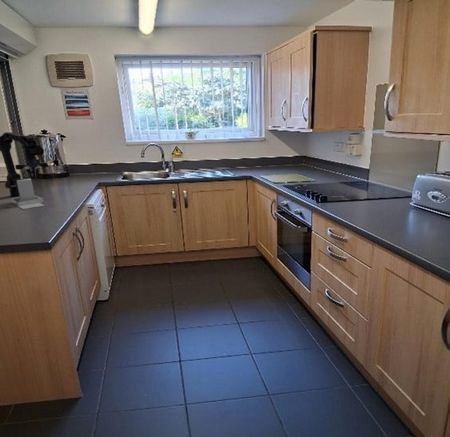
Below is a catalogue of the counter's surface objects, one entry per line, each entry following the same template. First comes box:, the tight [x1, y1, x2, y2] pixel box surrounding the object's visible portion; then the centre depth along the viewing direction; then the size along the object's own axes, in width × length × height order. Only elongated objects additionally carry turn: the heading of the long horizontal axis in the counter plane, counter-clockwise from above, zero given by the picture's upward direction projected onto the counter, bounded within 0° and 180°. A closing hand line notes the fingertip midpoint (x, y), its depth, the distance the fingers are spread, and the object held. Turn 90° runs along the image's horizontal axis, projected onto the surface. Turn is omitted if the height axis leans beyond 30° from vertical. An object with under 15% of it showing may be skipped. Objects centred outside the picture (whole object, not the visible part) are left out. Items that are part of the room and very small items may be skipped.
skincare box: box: [17, 178, 36, 201], centre depth 226 cm, size 8×6×15 cm
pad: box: [17, 203, 46, 210], centre depth 217 cm, size 12×12×1 cm
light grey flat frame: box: [12, 195, 44, 207], centre depth 230 cm, size 22×14×2 cm, turn 43°
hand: (34, 178), depth 238 cm, fingers open, 2 cm apart
